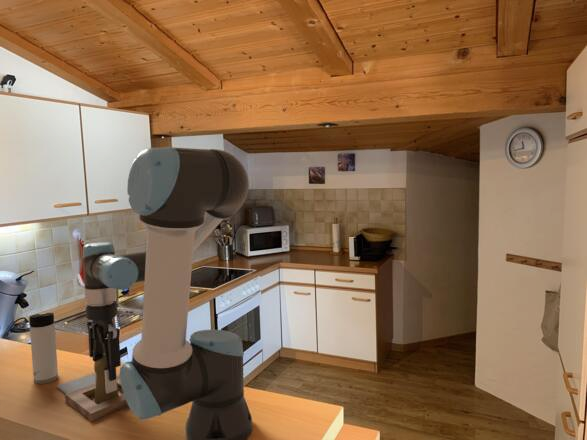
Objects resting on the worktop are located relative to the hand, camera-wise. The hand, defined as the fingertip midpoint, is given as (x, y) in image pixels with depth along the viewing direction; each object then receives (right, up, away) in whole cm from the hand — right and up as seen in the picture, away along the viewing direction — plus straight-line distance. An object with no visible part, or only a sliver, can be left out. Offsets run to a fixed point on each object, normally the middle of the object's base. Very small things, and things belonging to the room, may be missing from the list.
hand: (106, 387), depth 116 cm
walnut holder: (0, -3, 0) cm, 3 cm away
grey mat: (-9, -2, +9) cm, 13 cm away
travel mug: (-23, -3, +13) cm, 26 cm away
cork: (0, -3, 0) cm, 3 cm away
